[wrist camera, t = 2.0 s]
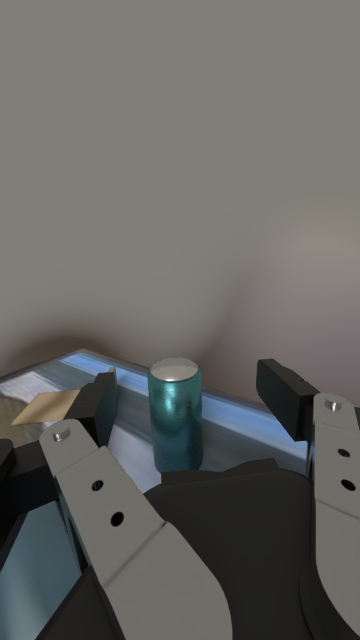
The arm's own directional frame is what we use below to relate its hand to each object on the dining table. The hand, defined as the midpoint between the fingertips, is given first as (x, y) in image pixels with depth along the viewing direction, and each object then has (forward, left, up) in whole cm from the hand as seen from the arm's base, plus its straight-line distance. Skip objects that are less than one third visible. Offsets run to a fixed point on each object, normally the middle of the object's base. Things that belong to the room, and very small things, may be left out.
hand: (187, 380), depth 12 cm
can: (0, +11, -17) cm, 21 cm away
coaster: (-21, +24, -17) cm, 36 cm away
